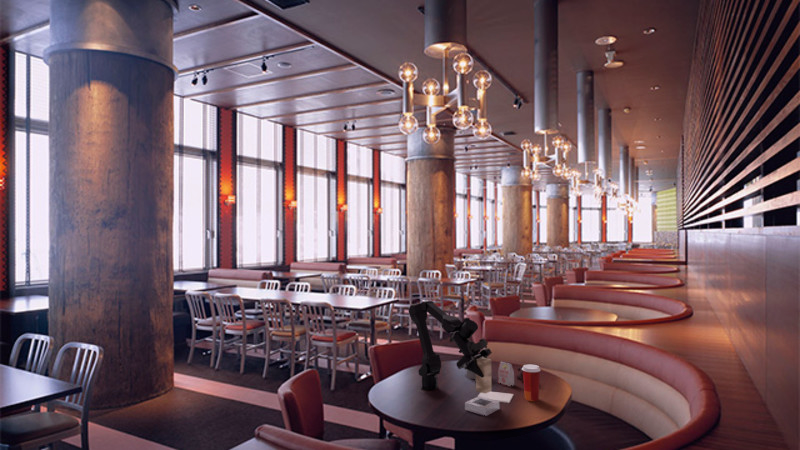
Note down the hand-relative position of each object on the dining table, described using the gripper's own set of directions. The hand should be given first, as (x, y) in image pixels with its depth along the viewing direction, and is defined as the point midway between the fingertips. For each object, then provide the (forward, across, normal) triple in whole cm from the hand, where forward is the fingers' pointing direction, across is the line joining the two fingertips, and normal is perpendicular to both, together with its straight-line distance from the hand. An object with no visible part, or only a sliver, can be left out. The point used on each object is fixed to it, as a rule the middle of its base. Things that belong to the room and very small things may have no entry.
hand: (486, 375), depth 201 cm
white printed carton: (+2, +32, +17) cm, 37 cm away
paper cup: (+16, +21, +3) cm, 27 cm away
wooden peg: (+4, 0, +6) cm, 7 cm away
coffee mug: (-11, +33, +30) cm, 46 cm away
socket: (+9, -2, +10) cm, 14 cm away
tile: (+6, +13, +12) cm, 19 cm away
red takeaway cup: (+6, +41, +13) cm, 44 cm away
